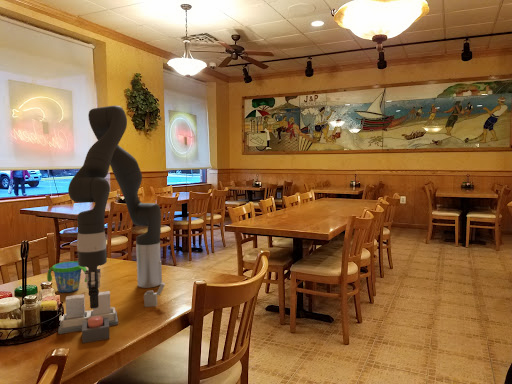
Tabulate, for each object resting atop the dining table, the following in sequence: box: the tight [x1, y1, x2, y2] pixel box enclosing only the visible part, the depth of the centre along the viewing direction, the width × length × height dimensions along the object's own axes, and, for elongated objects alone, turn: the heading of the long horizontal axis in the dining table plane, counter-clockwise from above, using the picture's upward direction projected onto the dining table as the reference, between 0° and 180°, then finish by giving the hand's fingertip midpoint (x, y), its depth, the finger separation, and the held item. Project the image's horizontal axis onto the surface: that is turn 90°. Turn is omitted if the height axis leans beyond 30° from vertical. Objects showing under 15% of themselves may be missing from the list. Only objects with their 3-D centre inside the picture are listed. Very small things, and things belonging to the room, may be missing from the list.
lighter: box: [143, 281, 166, 308], centre depth 133 cm, size 7×2×8 cm, turn 97°
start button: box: [88, 316, 103, 328], centre depth 111 cm, size 4×4×2 cm
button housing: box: [81, 318, 110, 344], centre depth 111 cm, size 7×7×4 cm
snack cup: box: [46, 260, 88, 293], centre depth 150 cm, size 16×10×10 cm
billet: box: [65, 293, 86, 320], centre depth 118 cm, size 5×3×8 cm, turn 112°
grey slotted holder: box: [57, 290, 119, 335], centre depth 119 cm, size 16×9×9 cm, turn 112°
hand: (94, 307), depth 110 cm, fingers closed
